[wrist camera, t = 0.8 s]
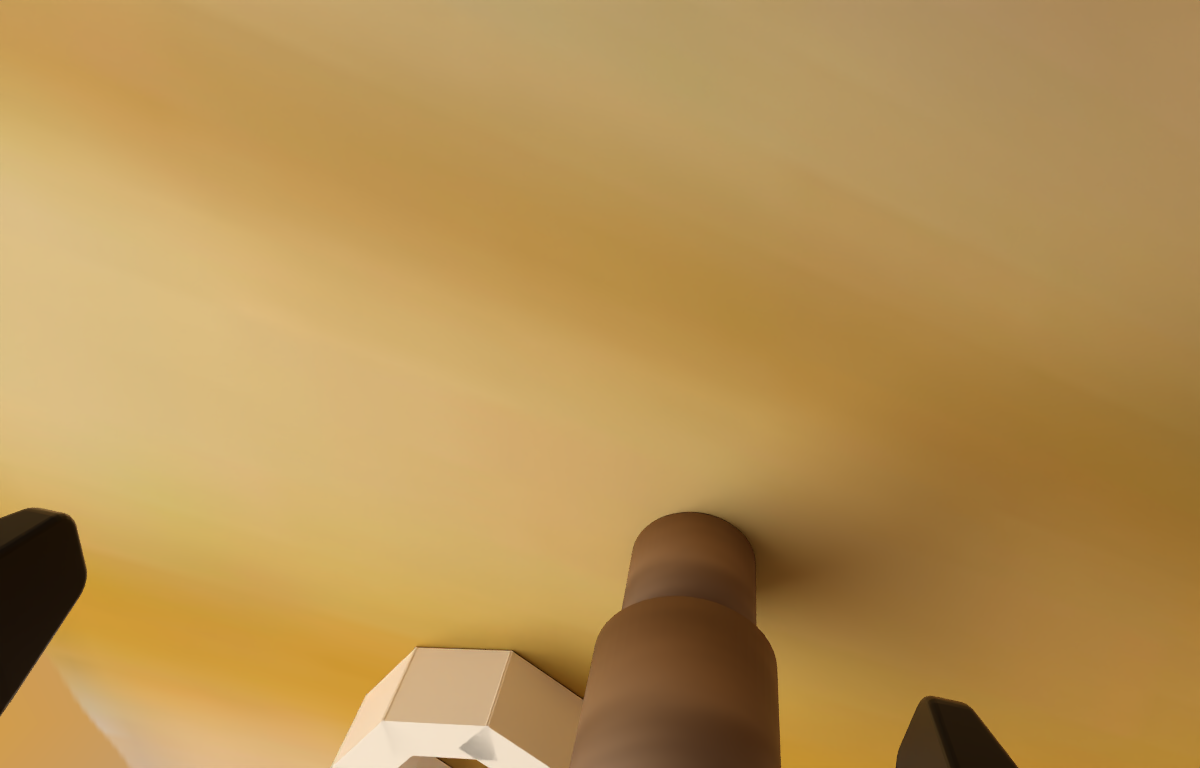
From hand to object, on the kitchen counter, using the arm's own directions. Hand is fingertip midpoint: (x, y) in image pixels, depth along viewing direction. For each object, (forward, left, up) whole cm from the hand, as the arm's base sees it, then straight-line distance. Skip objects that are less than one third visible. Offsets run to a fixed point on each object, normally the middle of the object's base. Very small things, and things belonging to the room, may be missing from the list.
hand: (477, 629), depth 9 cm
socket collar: (-8, +18, -13) cm, 24 cm away
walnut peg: (-8, +7, -13) cm, 17 cm away
